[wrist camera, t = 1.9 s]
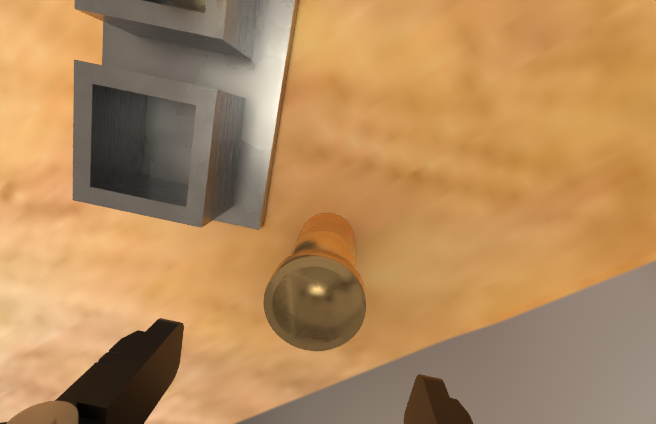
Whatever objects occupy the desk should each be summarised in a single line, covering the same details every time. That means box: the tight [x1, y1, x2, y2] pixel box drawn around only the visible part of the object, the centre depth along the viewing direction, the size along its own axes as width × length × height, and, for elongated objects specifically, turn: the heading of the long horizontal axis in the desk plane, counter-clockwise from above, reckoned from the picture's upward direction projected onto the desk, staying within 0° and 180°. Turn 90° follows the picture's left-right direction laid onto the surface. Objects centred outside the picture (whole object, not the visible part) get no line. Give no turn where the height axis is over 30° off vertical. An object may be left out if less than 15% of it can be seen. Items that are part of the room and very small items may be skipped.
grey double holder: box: [73, 0, 299, 230], centre depth 18 cm, size 12×20×11 cm, turn 169°
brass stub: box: [264, 213, 366, 351], centre depth 20 cm, size 5×5×10 cm
